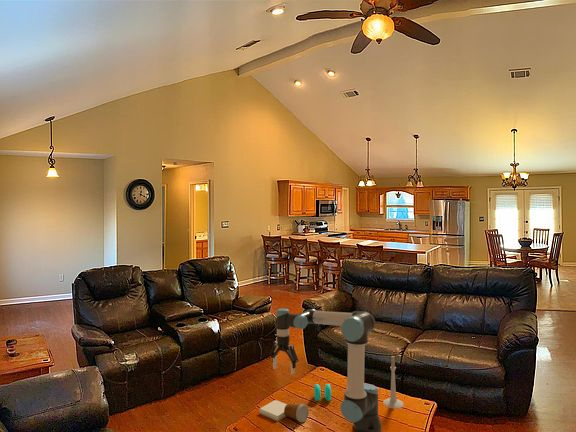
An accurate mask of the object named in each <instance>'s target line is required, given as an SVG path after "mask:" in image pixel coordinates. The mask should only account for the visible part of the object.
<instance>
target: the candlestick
mask: <svg viewBox="0 0 576 432" xmlns="http://www.w3.org/2000/svg"><path fill="white" fill-rule="evenodd" d="M395 357H396V356H394V355H391V364H390V365H391V366H390V368H389V369H390V371H391V372H390V373H391V374H390V375H391V378H390V398H389V397H388V398H386V399H384V400H383V402H382V403H383V405H384V406H385V407H387V408H389V409H394V410H395V409H402V408H403V407H404V402H403V401H402V400H400V399H398V398H397V390H396V386H397V385H396V373H395V372H396V368H397V367H396V361H395V360H396V359H395Z"/></svg>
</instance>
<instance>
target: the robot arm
mask: <svg viewBox="0 0 576 432" xmlns="http://www.w3.org/2000/svg"><path fill="white" fill-rule="evenodd" d="M275 318H276V340H275V341H273V342H272V343H273V344H272V346H271V349H270V352H269V353H268V354H269V355H268V356H269V357H271V359H272V361H271V362H272V367H273V368H272V369H273V370H275V369H278V357H277V355H278V354H279V353H280V351H281V352H285V354H286V355H287V356H288V359H289V360H290V361H291V362H290V374H291V375H294V374H296V368H297V366H296V363H298V362H299V358H298V356H297V353H296V350H295V345H294V344H290V341H291V340H290V328H294V329H297V330H301V329H302V330H305V328H306V327H307V326H308V325H309V324H316V325H317V324H318V325H328V326H336V327H337V326H339V327H341V329H340V331H341V335H342V336H343V338H344V339H345V340H344V342H345V343H346V344H347V385H346V386H347V387H346V389H345V390H344V392H343V398H344V399H343V401H342V402H341V404H340V405H339V407H340V408H339V409H340V413H341V415H342V416H343V417H344V418H345V419H346V420H347V421H348V422H349V423H353V428H354V430H355V431H356V432H381V431H382V430H383V429H382V426H383V425H382V422H381V417H380V416H379V415H380V414H379V389H378V387H377V386H375V384H370V383H366V382H365V352H366V351H365V346H366V345H367V344H368V343H369V342H368V341H369V340H368V339H369V334H371V333H372V332H373V331H374V329H375V327H376V320H375V317H374V316H373V315H372V314H371V312H370V313H369V312H368V311H357V310H355V311H352V312H345V311H344V312H343V311H341V312H340V311H328V310H327V311H324V310H316V309H315V308H312V309H311V308H310V309H307V310H304V311H302V312H299V313H295V314H294V313H291V312H290V310H289V309H288V308H278V309H276V316H275Z"/></svg>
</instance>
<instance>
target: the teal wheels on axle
mask: <svg viewBox="0 0 576 432" xmlns="http://www.w3.org/2000/svg"><path fill="white" fill-rule="evenodd" d="M321 395H322V394H321V386H320V385H319V384H318V383H316V384H314V395H313V396H314V401H316V402H319V401H320V399H321ZM324 398H325V400H326V401H327V402H330V401H331V400H332V386H331V384H330V383H326V384H325V385H324Z"/></svg>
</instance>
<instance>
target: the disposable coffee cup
mask: <svg viewBox="0 0 576 432" xmlns="http://www.w3.org/2000/svg"><path fill="white" fill-rule="evenodd" d="M286 404H287V403H286ZM284 414H285V415H286V417H287V418H290V419H294V420H296V421H298V423H304V422H306V421H307V420H308V417H309V407H308V406H307V405H306V404H305V403H301V404H295V403H294V404H293V403H292V404H290V403H289V404H287V405H286V406H285V409H284Z"/></svg>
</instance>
